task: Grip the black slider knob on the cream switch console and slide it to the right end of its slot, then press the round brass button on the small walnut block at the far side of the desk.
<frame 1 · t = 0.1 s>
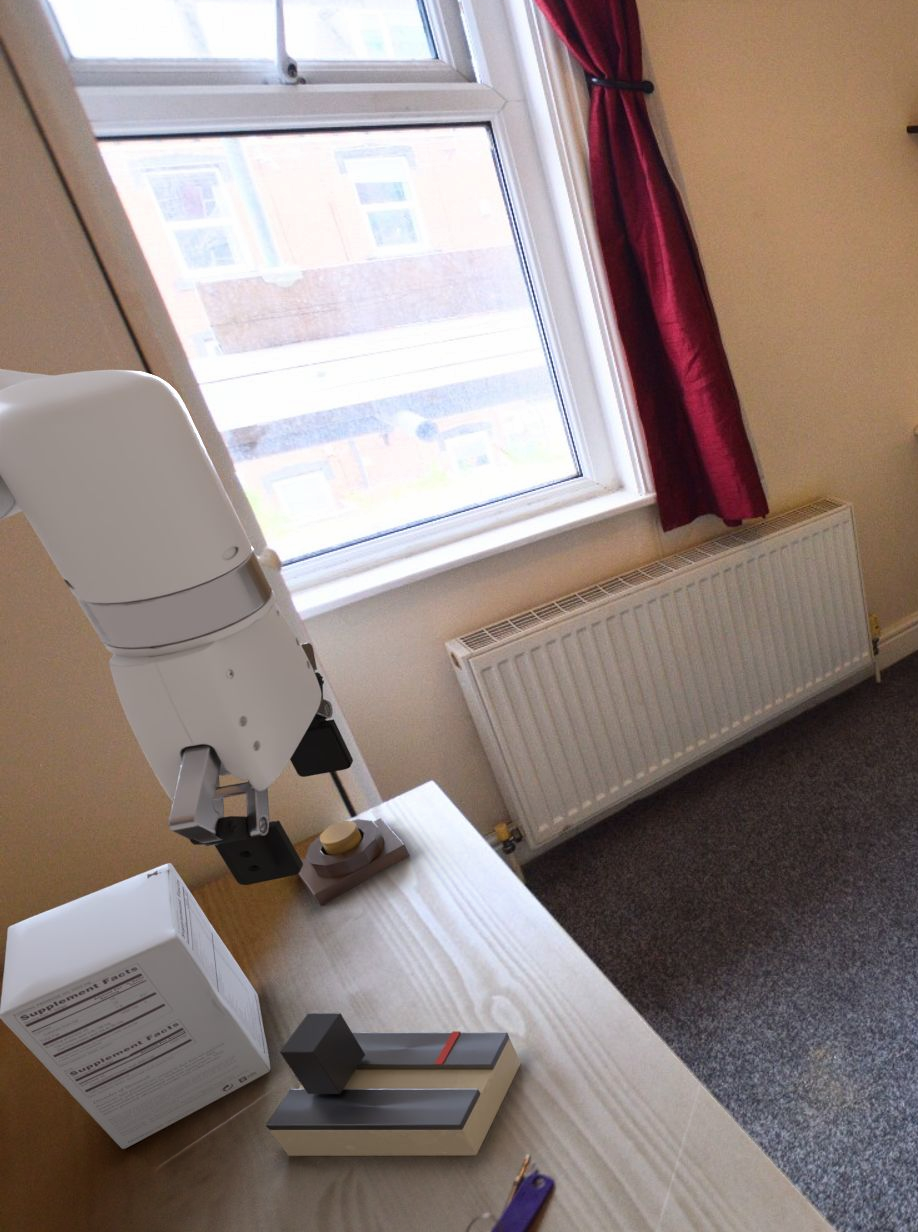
hand: (302, 819, 56), 28 cm above the table, tool pointing down, fingers open, 9 cm apart
supplement box: (196, 1068, 70), on the table
console: (410, 1107, 67), on the table
slider: (326, 1056, 64), point 7 cm above the table, slide at 0.0 cm
button: (340, 838, 86), point 4 cm above the table, slide at 0.1 cm
button block: (355, 865, 88), on the table
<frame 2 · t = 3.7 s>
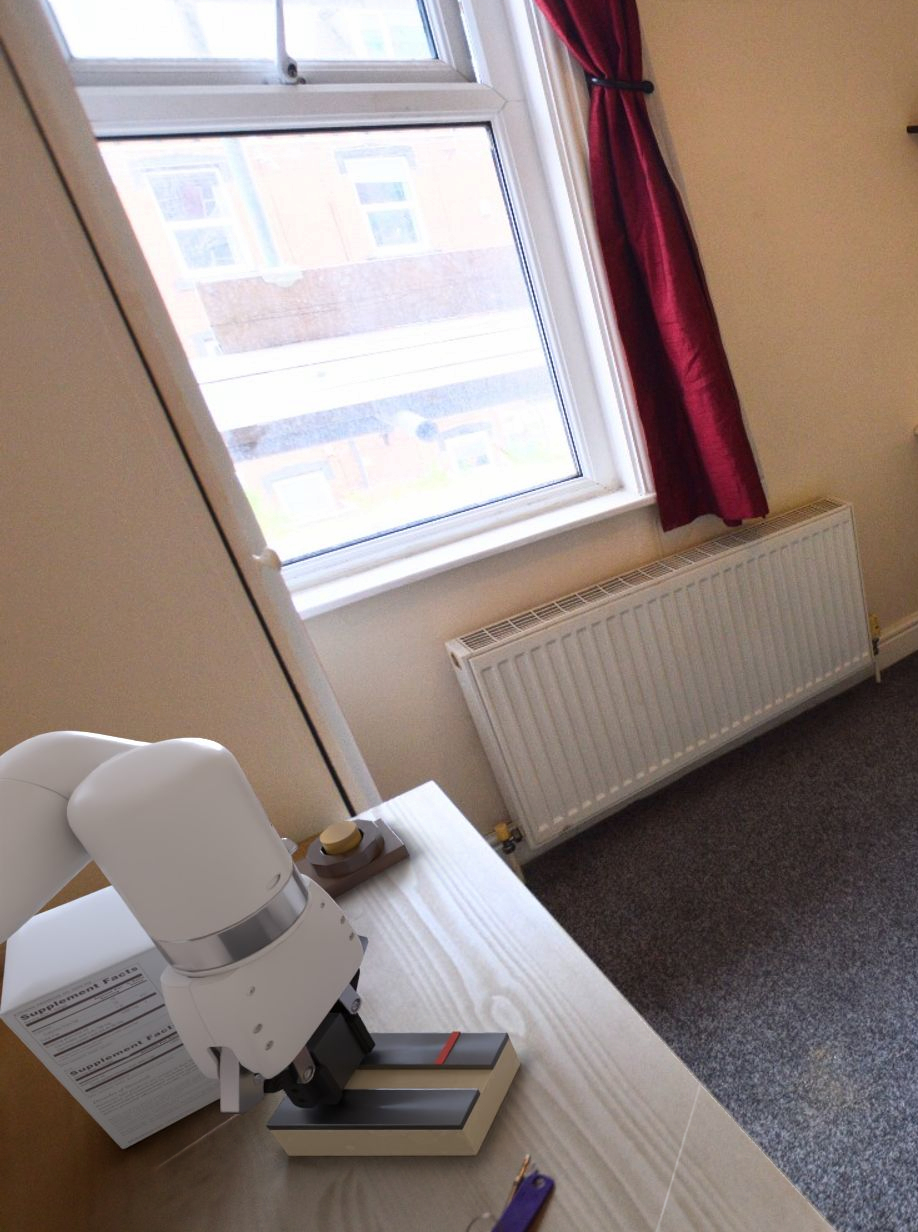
hand: (336, 1073, 65), 5 cm above the table, tool pointing down, fingers closed on slider, 3 cm apart
slider: (326, 1056, 64), point 7 cm above the table, slide at 0.0 cm, touching gripper
everything else where it was.
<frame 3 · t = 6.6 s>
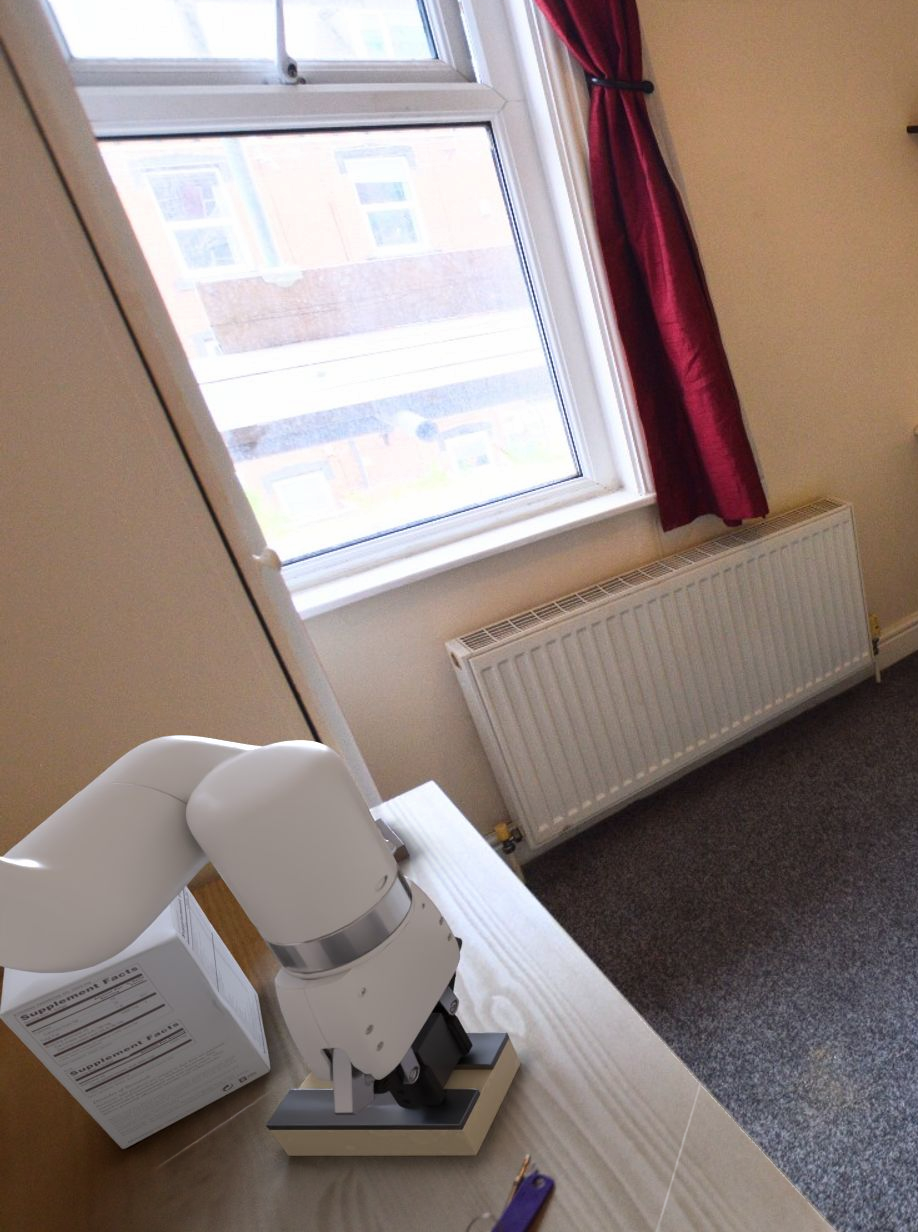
hand: (437, 1074, 65), 5 cm above the table, tool pointing down, fingers closed on slider, 3 cm apart
slider: (426, 1056, 64), point 7 cm above the table, slide at 7.4 cm, touching gripper
everything else where it was.
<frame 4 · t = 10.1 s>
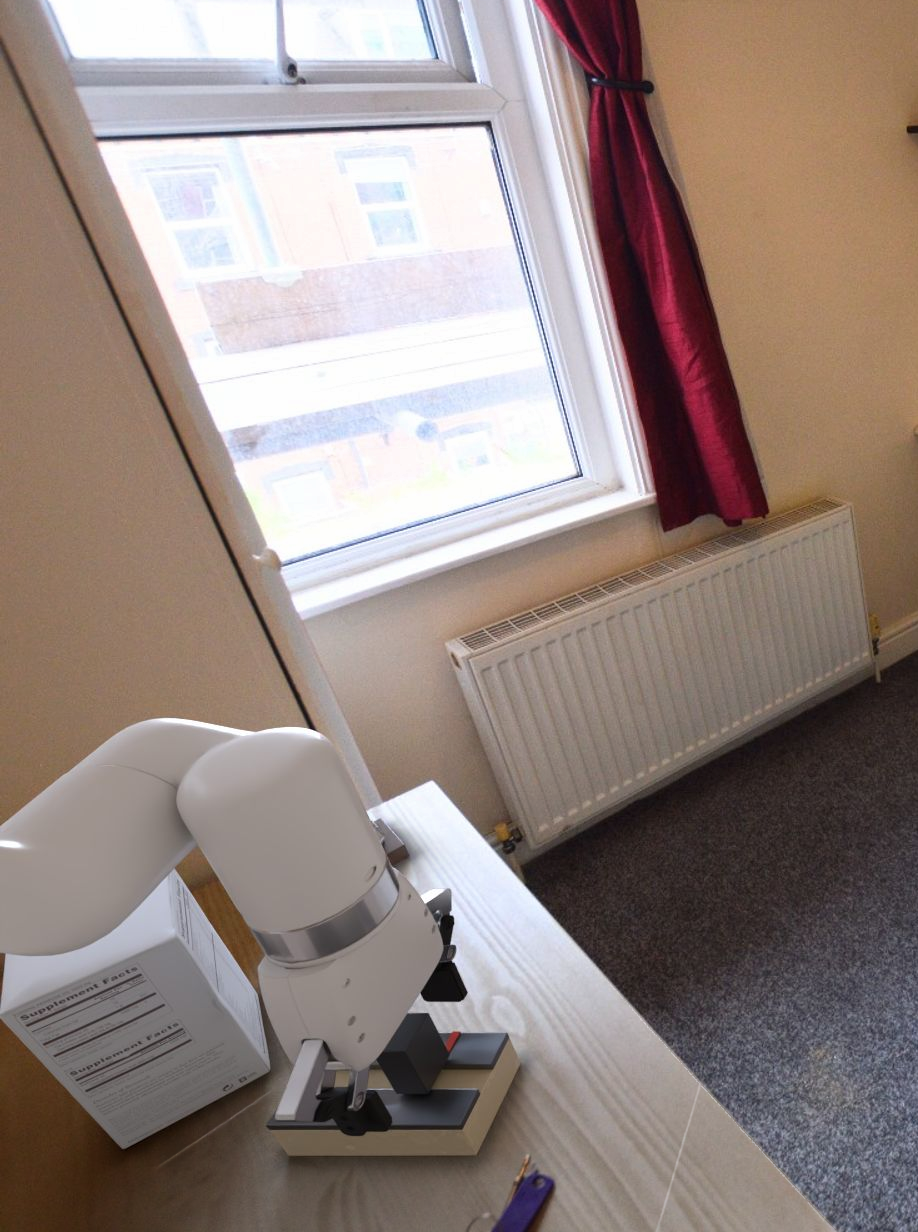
hand: (410, 1058, 64), 7 cm above the table, tool pointing down, fingers open, 9 cm apart
slider: (414, 1056, 64), point 7 cm above the table, slide at 6.5 cm
everything else where it was.
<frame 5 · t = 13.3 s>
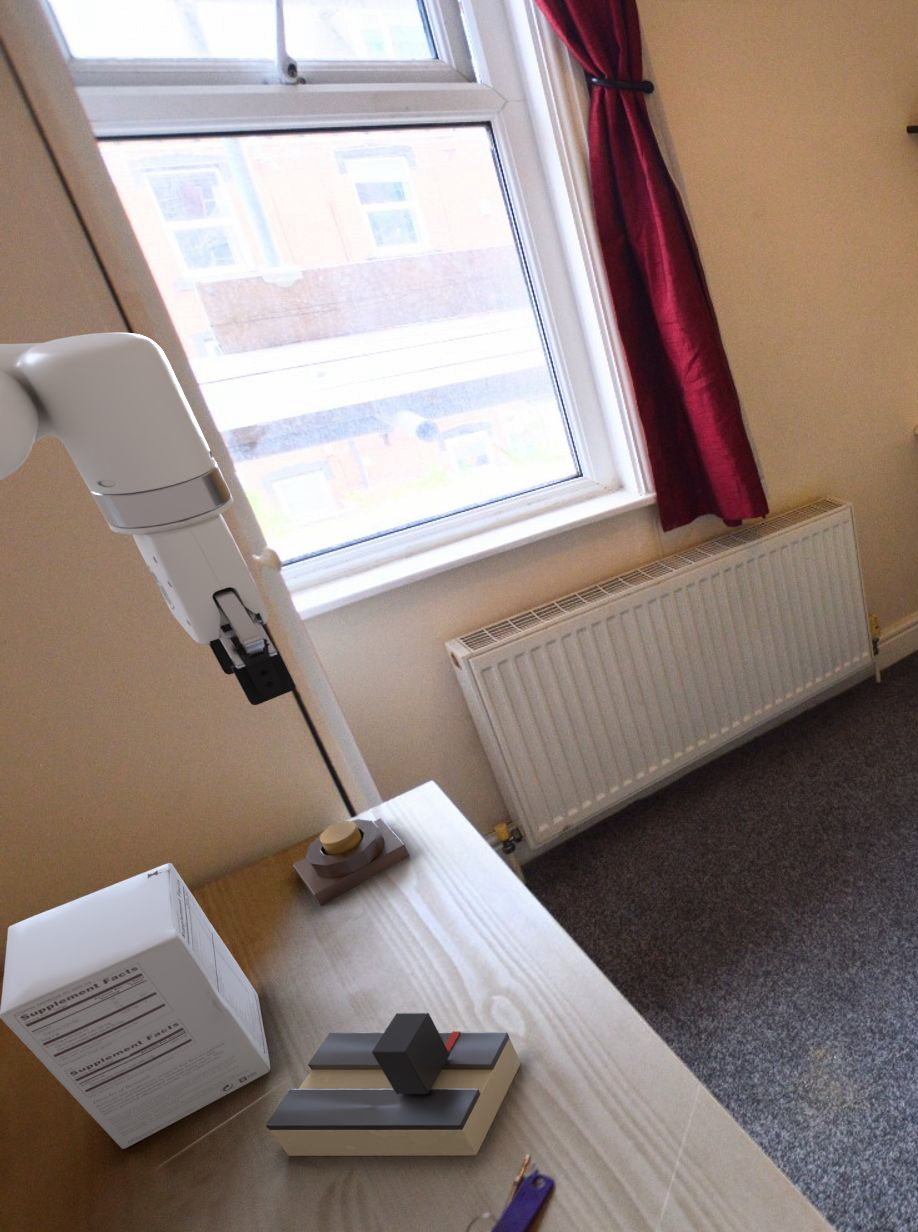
hand: (259, 679, 76), 24 cm above the table, tool pointing down, fingers open, 6 cm apart
nothing on the table moved.
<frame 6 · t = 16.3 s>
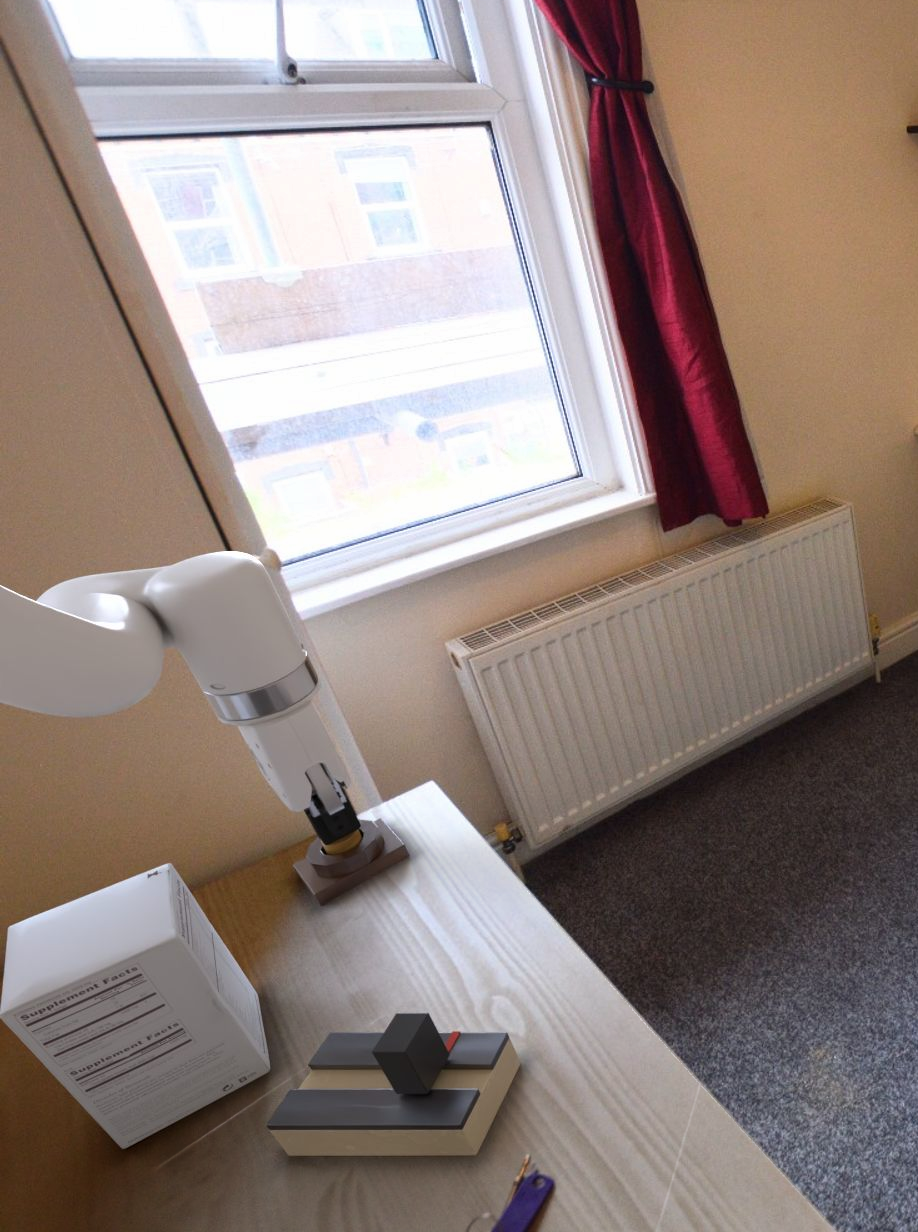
hand: (340, 832, 86), 5 cm above the table, tool pointing down, fingers closed
button: (342, 840, 86), point 4 cm above the table, slide at -0.2 cm, touching gripper
everything else where it was.
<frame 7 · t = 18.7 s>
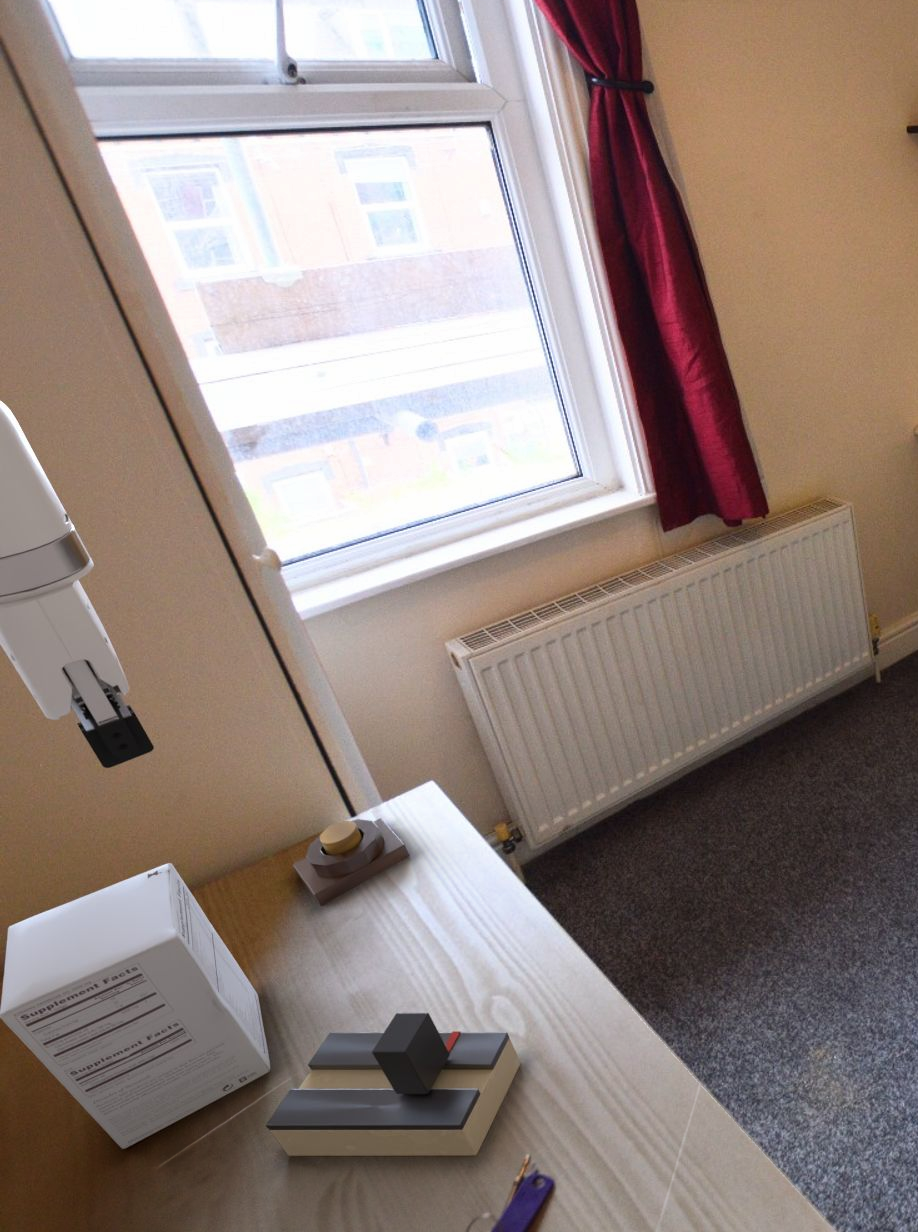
hand: (127, 755, 72), 20 cm above the table, tool pointing down, fingers closed
button: (340, 838, 86), point 4 cm above the table, slide at 0.1 cm
everything else where it was.
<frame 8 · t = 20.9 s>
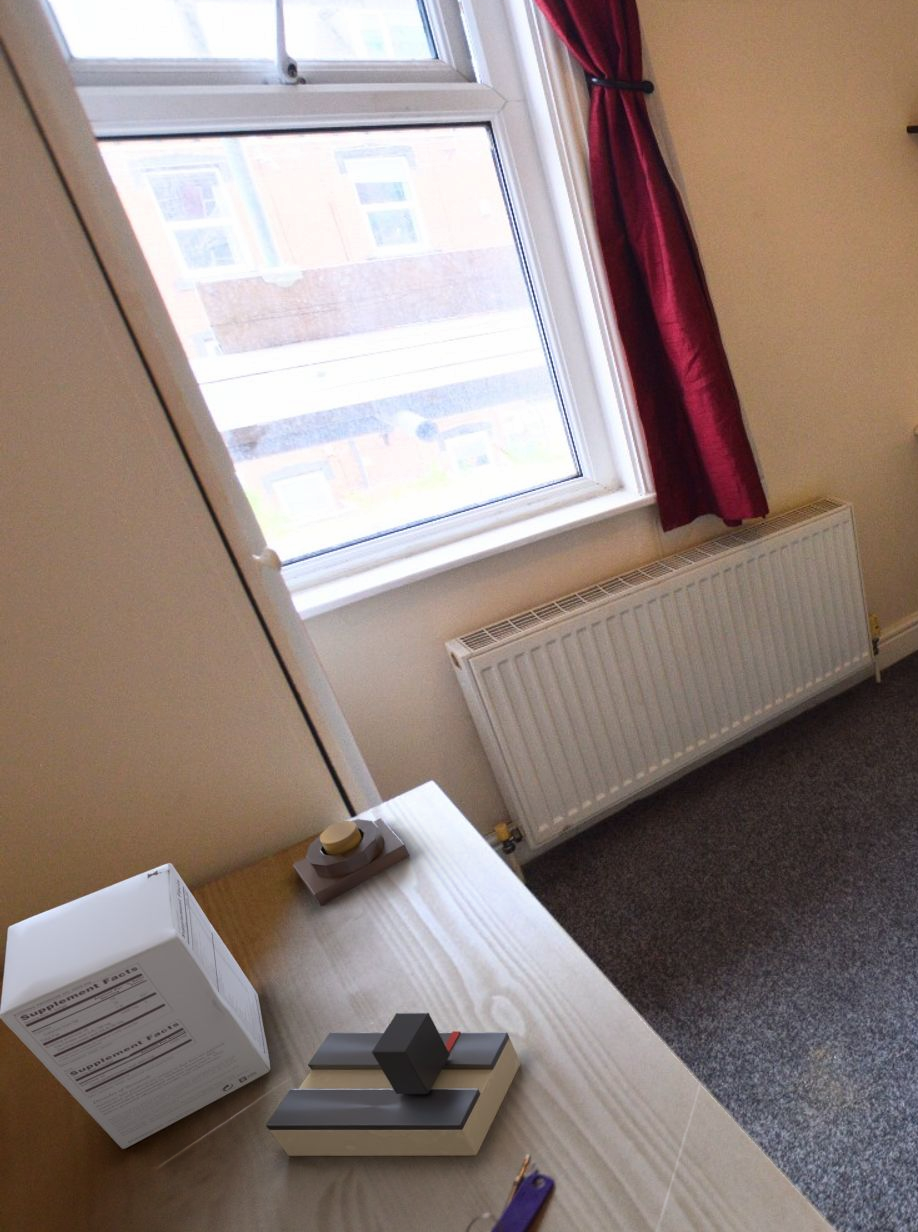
nothing on the table moved.
at the end: slider slide at 6.5 cm; button pushed in 1.1 cm at the most during the clip, back to where it started at the end; button slide at 0.1 cm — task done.
